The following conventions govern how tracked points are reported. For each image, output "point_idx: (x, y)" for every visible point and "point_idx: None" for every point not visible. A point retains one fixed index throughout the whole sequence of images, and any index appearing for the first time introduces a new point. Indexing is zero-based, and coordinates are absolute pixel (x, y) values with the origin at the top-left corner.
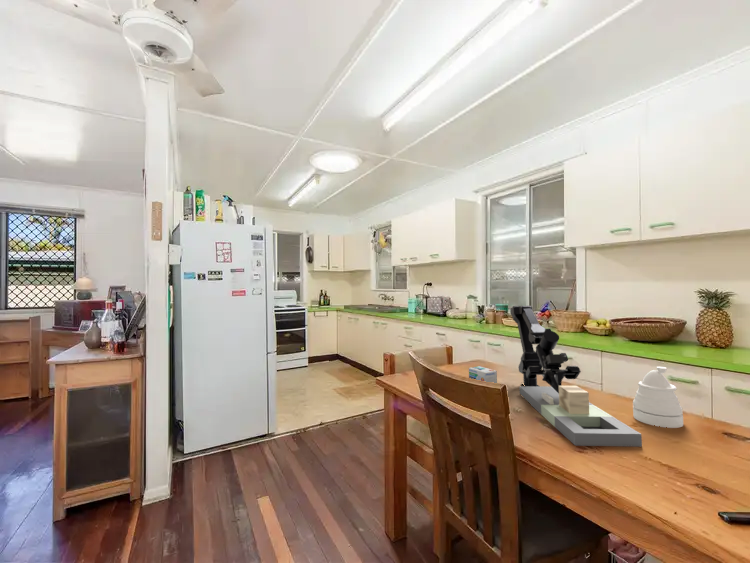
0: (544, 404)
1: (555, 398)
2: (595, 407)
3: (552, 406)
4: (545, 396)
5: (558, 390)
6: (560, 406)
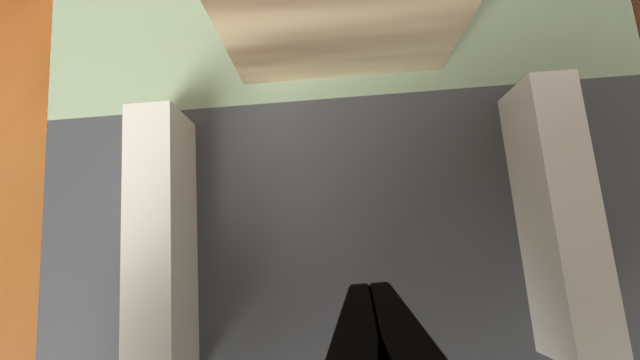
0: (604, 88)
1: None
2: (77, 41)
3: (529, 26)
4: (596, 222)
5: (396, 298)
6: None
